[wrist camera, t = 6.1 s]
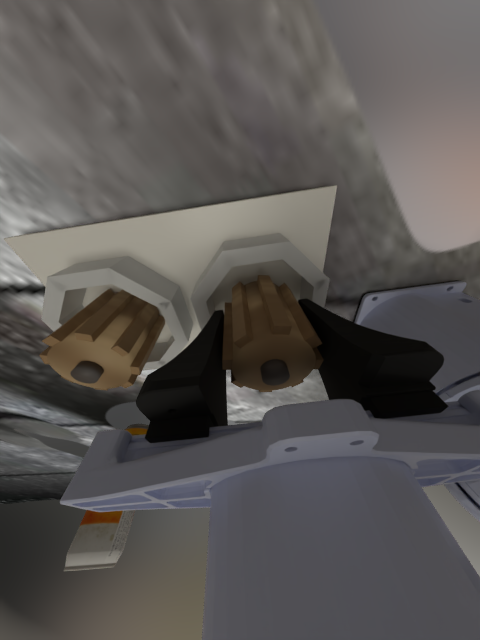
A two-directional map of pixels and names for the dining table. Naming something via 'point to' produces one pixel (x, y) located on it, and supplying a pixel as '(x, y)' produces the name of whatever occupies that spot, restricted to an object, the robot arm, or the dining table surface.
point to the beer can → (101, 533)
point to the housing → (185, 259)
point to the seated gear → (105, 341)
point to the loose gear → (267, 337)
